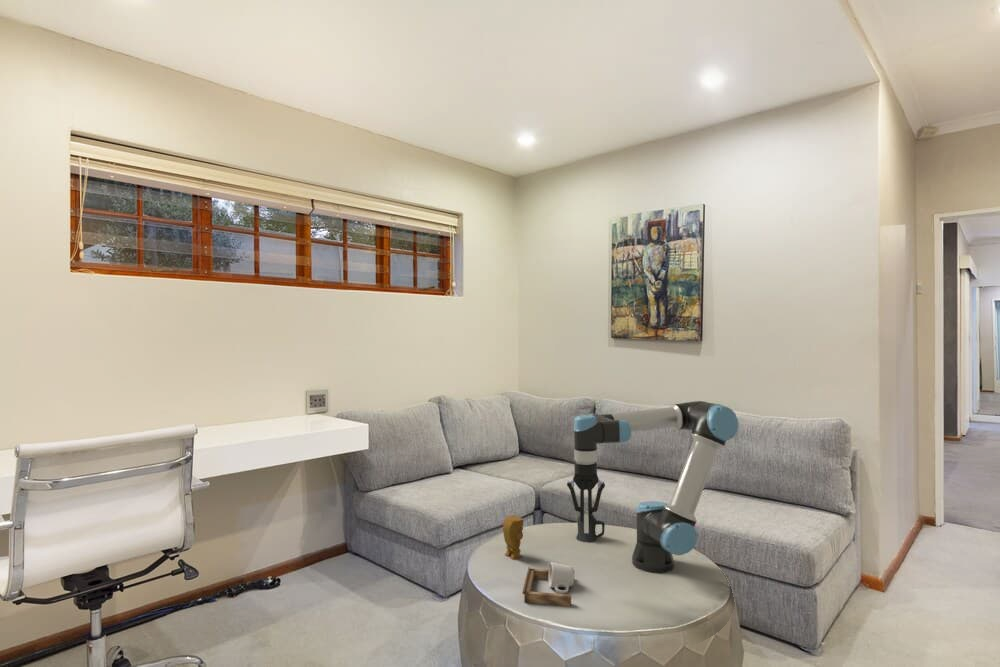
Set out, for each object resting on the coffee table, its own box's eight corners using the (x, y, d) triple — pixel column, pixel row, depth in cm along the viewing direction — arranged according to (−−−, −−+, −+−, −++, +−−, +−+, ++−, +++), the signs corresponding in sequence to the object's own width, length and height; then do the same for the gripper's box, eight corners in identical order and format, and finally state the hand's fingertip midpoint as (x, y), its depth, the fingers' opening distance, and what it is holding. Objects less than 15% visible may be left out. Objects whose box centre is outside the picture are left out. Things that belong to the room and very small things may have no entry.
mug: (574, 543, 226) (574, 516, 226) (576, 536, 235) (576, 509, 235) (603, 546, 223) (603, 519, 223) (605, 538, 232) (605, 512, 232)
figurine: (524, 557, 212) (524, 519, 212) (511, 561, 208) (511, 522, 208) (514, 552, 218) (514, 514, 218) (500, 555, 214) (500, 517, 214)
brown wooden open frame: (572, 579, 193) (572, 569, 193) (571, 606, 174) (571, 595, 174) (528, 576, 196) (528, 566, 196) (522, 602, 177) (522, 591, 177)
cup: (577, 586, 181) (554, 584, 180) (573, 601, 184) (550, 600, 184) (573, 558, 190) (551, 557, 190) (569, 574, 194) (547, 572, 193)
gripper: (604, 459, 186) (605, 528, 186) (566, 458, 188) (567, 527, 188) (605, 465, 179) (606, 536, 179) (565, 464, 181) (566, 535, 181)
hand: (586, 531), depth 184 cm, fingers closed
